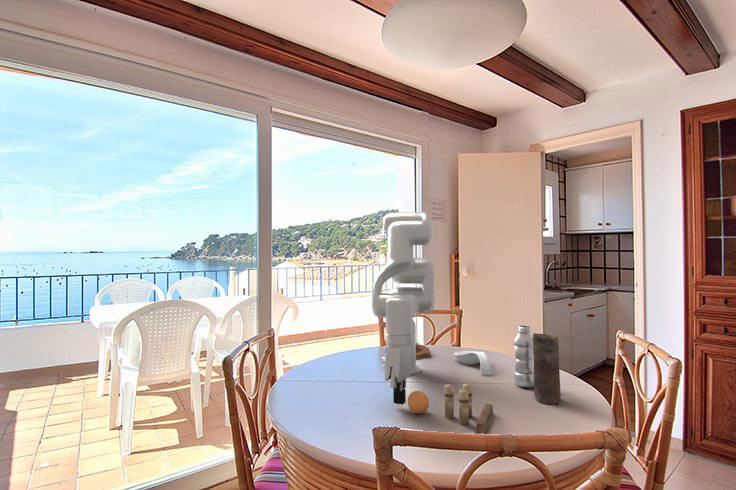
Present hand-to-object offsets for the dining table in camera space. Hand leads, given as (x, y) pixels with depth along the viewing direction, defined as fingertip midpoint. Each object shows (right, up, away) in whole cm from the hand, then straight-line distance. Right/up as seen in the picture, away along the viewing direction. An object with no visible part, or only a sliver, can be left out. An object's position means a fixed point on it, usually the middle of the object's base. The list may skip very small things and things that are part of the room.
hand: (399, 402), depth 116 cm
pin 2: (+16, -1, -10) cm, 19 cm away
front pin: (+13, -1, -6) cm, 15 cm away
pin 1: (+18, -1, -6) cm, 19 cm away
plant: (+9, -3, +61) cm, 61 cm away
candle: (+45, -2, +5) cm, 46 cm away
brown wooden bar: (+22, -1, -10) cm, 24 cm away
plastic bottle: (+43, -2, +17) cm, 46 cm away
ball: (+5, +1, -3) cm, 6 cm away
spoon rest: (+33, -2, +41) cm, 52 cm away
